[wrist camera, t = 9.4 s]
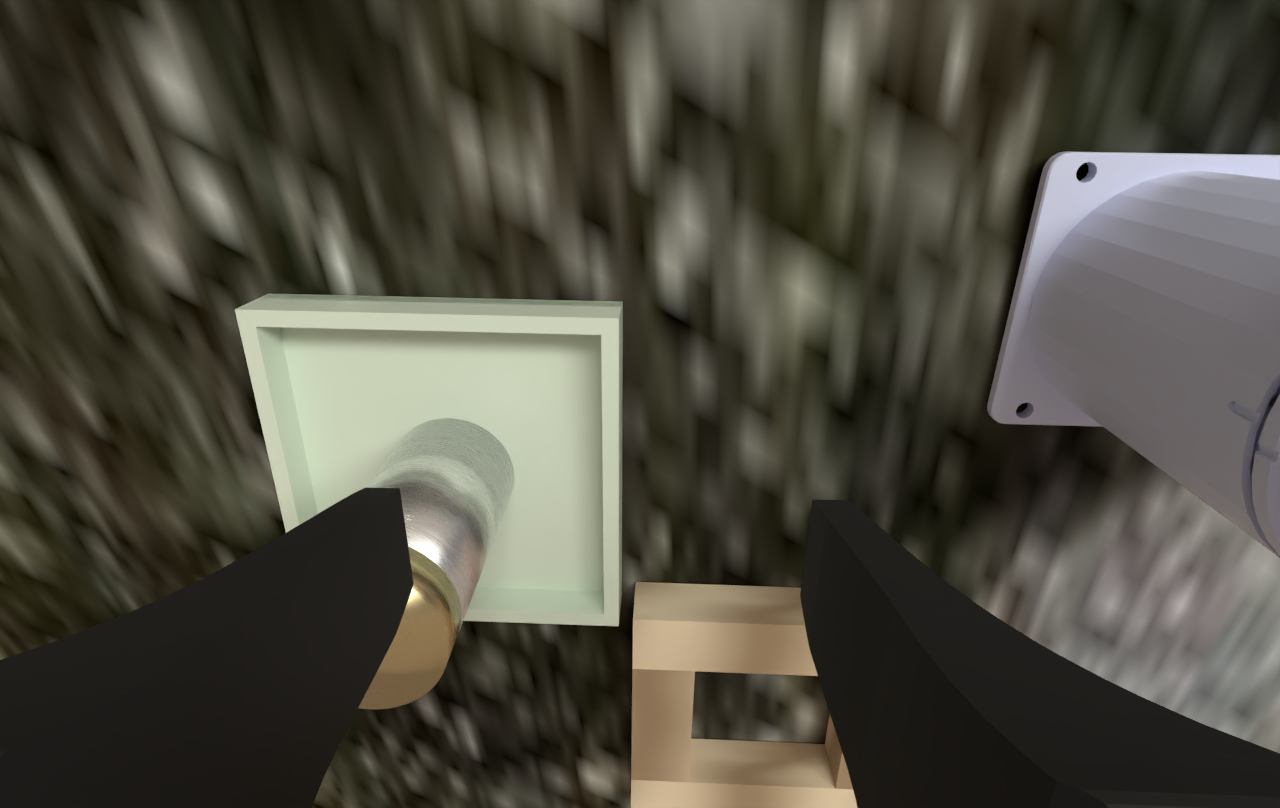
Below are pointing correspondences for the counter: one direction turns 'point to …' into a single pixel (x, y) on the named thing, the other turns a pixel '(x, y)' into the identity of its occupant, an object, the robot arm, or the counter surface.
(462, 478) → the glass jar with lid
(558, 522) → the tray
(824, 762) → the tan square frame
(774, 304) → the counter surface
